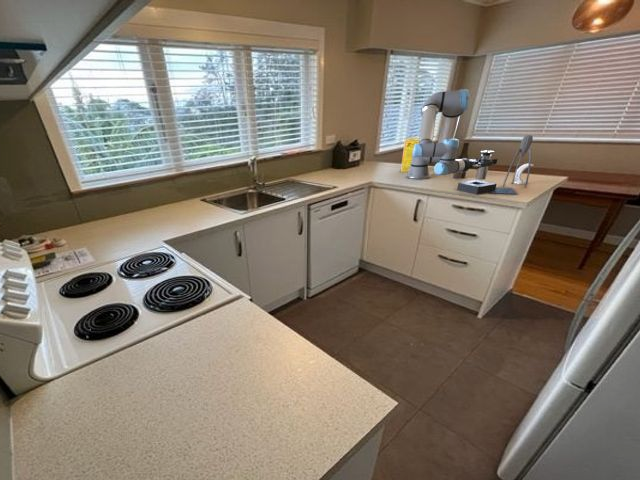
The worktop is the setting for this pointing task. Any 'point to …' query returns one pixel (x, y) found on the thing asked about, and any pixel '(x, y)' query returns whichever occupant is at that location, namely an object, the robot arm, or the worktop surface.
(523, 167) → the curved silver pipe
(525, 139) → the citrus juicer
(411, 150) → the packaging box
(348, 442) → the worktop surface
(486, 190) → the blender base
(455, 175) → the beer bottle
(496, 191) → the mat
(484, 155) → the blade unit
